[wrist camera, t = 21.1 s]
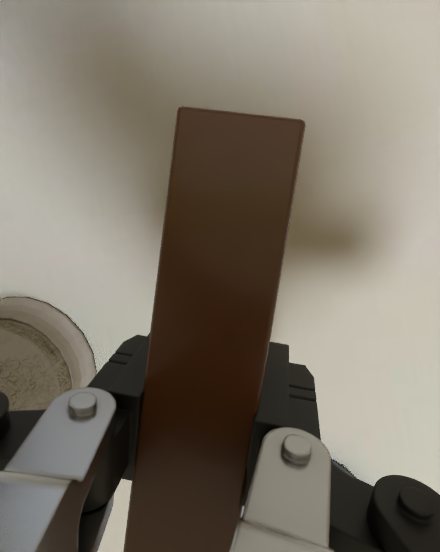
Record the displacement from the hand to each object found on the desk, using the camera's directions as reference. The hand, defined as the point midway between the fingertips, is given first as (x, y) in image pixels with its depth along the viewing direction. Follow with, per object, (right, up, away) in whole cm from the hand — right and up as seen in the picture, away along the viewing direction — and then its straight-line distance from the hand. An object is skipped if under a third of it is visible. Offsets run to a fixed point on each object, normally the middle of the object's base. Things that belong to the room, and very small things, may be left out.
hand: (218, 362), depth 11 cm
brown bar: (0, -3, +1) cm, 3 cm away
